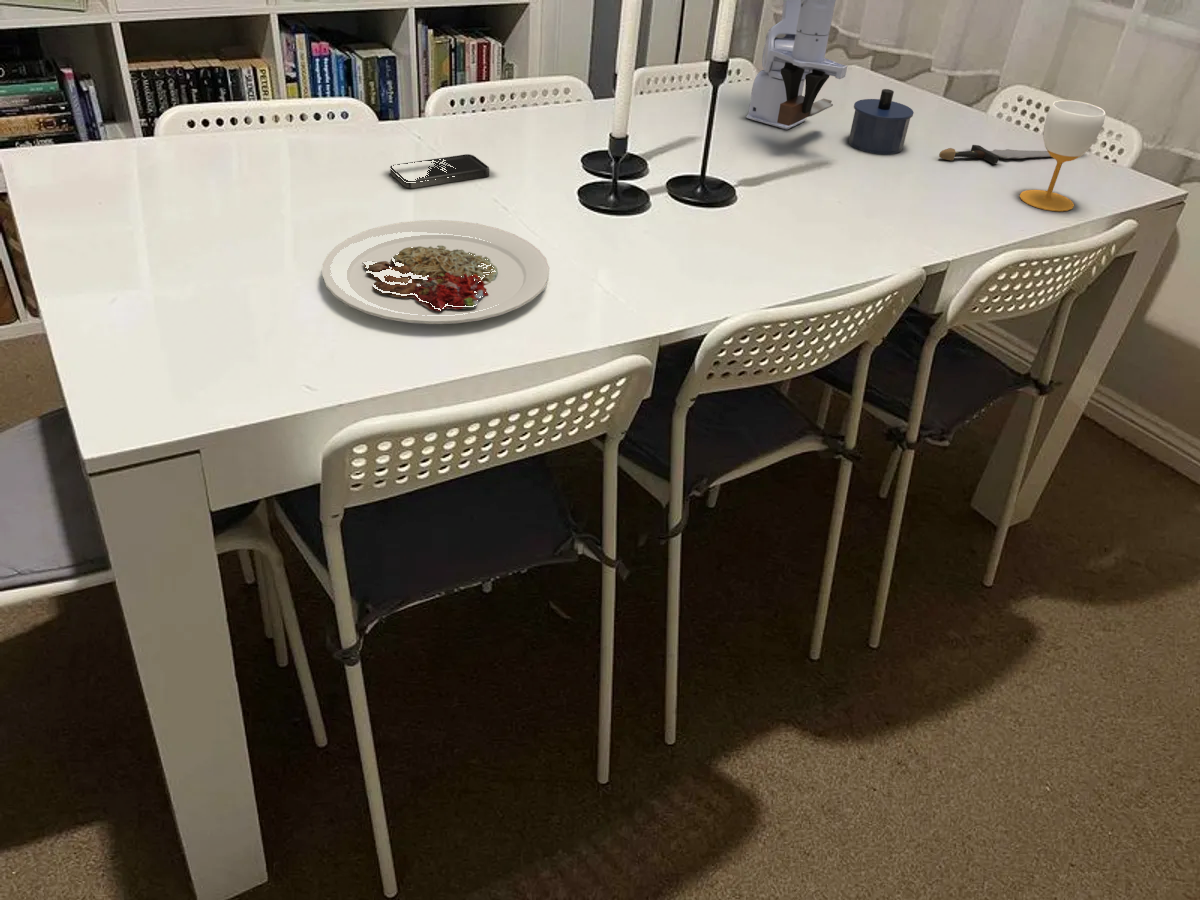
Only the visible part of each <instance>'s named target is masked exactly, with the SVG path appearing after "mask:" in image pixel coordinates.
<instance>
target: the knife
mask: <svg viewBox="0 0 1200 900" xmlns="http://www.w3.org/2000/svg"><path fill="white" fill-rule="evenodd" d="M804 96H805V95H802V96H801V95H799V96H797V97H795V98H792V99H790V100H788V101H786V102H783V103H781V104H780V109H779V115H778V120H777V123H780V124H784V125H787V126H790V125H792V124H794V123H796V122H799V121H801V120H803V119H805V120H806V119H807V118H810V117H813V116H815V115H818V114H820V113H821V112H824V111H826V110H827V109H830V108H831V107H834V104H833V103H832V101H833V100H830V99H827V98H822V99H819V100H817V101H814V103H813V105H812V107H811V110H810V112H808V113H806V114H805V113H802V107H803V101H804Z"/></svg>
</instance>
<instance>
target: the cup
mask: <svg viewBox="0 0 1200 900" xmlns="http://www.w3.org/2000/svg"><path fill="white" fill-rule="evenodd" d="M1106 113H1107V112H1106V111H1105V110H1104V108H1101V107H1099V106H1098V105H1095V104H1094V105H1093V104H1091V103H1087V102H1083V101H1078V100H1070V99H1061V100H1055V101H1053V103H1052V104H1051V106H1050V108H1049V110H1048V111H1047V113H1046V117H1045V120H1044V125H1043V133H1042V135H1043V137H1042V138H1043V143H1044V148H1045V150H1046V151H1048V153H1049V154H1050V156H1051V157H1050V158H1052V159H1054V160H1055V161H1056V165H1055V168H1054V170H1053V173H1052V176H1051V179H1050V182H1049V185H1048V188H1047V189H1046V190H1043V189H1027V190H1023V191H1021V193H1020V194H1019V198H1020V200H1021V202H1024V203H1025V204H1026V205H1029V206H1031V207H1033V208H1036V209H1040V210H1043V211H1050V212H1068V211H1070V210H1073V208H1074V206H1075V204H1074V202H1073V201H1072V199H1070V198H1069V197H1066V196H1065V195H1062V194H1060V193H1058V192H1053V191H1054V188H1055V185H1056V182H1057V180H1058V176H1059V174H1060V171H1061V169H1062V166H1063V164H1064V163H1066V162H1071V161H1075V160H1077V159H1078V158H1081V157H1082V156H1084V155H1085V154H1086V153H1087V152H1088V151H1089V150H1090V149H1091V147H1092V146H1093V145H1094V143H1095V141H1096V140H1097V138H1098V137H1099V135H1100V132H1101V131H1102V128H1103V126H1104V124H1105V119H1106Z"/></svg>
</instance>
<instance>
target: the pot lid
mask: <svg viewBox="0 0 1200 900" xmlns="http://www.w3.org/2000/svg"><path fill="white" fill-rule="evenodd" d="M894 93H895V91H894V90H893V89H889V88H883V89H882V90H881V92H880V98H864V99H859V100H857V101H855V102H854V105H853V108H854V111H855V110H856V111H857V112H859V113H861V114H863V115H866V116H869V117H873V118H877V119H883V120H906V119H909V118H910V119H911V118H913V116H914V114H915V113H914V110H913V108H911V107H909V106H907V105H905V104H903V103H900V102H897V101H893V98H894Z"/></svg>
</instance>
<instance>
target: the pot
mask: <svg viewBox="0 0 1200 900" xmlns="http://www.w3.org/2000/svg"><path fill="white" fill-rule="evenodd" d="M852 118H853V119H852V123H851V126H850V132H849V137H848V144H849V145H850V146H851V147H853V148H854V149H857V150H860V151H862V152H866V153H870V154H876V155H895V154H898V153H901V152H902V151H903V148H904V145H905V142H906V138H907V132H908V129H909V125H910V121H911V118H909V119H906V120H883V119H877V118H873V117H869V116H866V115H863V114H861V113H859V112H857V111H856V110H855V109H854V113H853V117H852Z"/></svg>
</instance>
